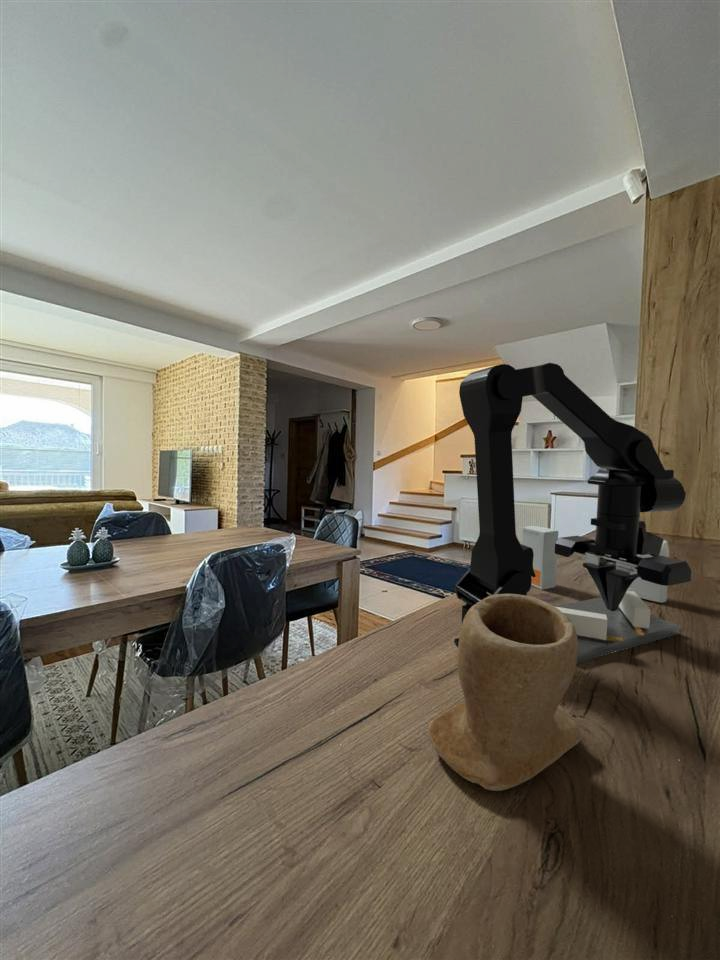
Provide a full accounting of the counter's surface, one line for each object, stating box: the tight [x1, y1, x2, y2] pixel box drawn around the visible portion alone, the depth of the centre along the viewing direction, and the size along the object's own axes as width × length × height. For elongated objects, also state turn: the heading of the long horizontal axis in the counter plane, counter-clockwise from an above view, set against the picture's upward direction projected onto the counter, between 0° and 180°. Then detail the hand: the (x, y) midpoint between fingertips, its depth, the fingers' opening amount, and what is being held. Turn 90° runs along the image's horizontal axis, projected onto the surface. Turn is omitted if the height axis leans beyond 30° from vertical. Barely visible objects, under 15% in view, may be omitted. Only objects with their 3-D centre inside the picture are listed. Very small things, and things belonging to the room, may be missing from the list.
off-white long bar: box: [619, 588, 652, 629], centre depth 68 cm, size 10×2×3 cm, turn 162°
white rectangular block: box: [556, 607, 607, 640], centre depth 62 cm, size 10×2×3 cm, turn 65°
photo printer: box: [607, 539, 670, 604], centre depth 82 cm, size 10×4×12 cm, turn 39°
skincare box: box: [520, 525, 559, 591], centre depth 87 cm, size 6×4×12 cm
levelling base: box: [554, 596, 680, 665], centre depth 66 cm, size 23×13×3 cm, turn 113°
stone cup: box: [427, 594, 584, 792], centre depth 39 cm, size 15×12×15 cm
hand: (611, 610), depth 66 cm, fingers closed
